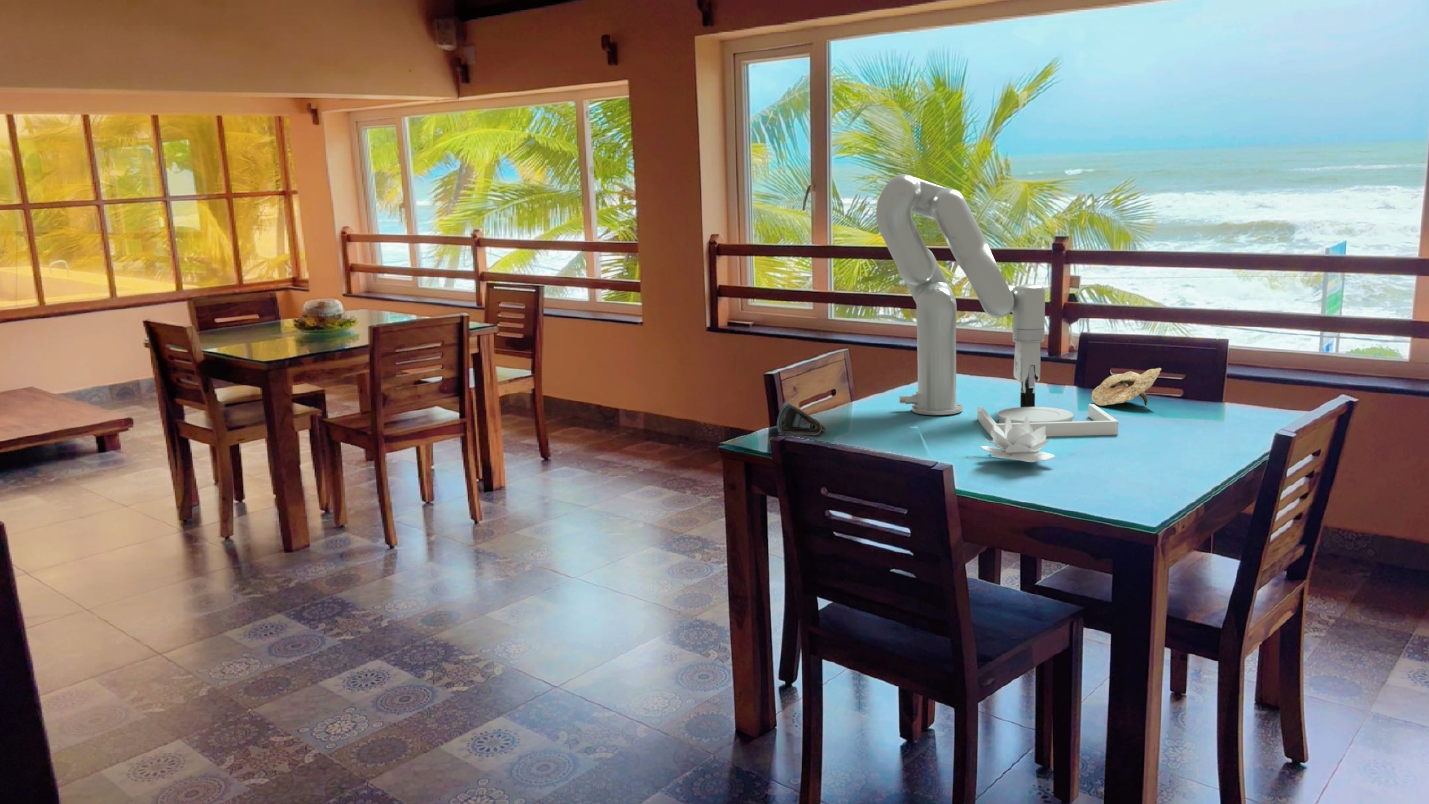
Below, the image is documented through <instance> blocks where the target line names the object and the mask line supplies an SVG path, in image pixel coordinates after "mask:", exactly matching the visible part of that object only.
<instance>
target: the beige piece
mask: <svg viewBox="0 0 1429 804" xmlns="http://www.w3.org/2000/svg"><path fill="white" fill-rule="evenodd" d="M1161 371H1162V368H1161V367H1157V368H1150V369H1147V370H1146V371H1144V372H1143V373H1141V374H1140V373H1138V372H1134V371H1126V372H1125V373H1117V374H1113V375H1109V376H1108V377H1107V378H1105V379H1104V380H1103V381H1102V382H1101V383H1100V384H1099V385H1098V386H1096V387H1095V388H1094V389H1093V390H1092V391H1091V400H1092V402H1094V404H1095V405H1098V406H1107V405H1108V406H1109V405H1115V404H1121V403H1122V404H1123V403H1126V402H1130V401H1132V400H1134V398H1136V397H1138V396H1139V397H1141V399H1142V400H1143V403H1144V406H1147V405H1148V402H1149V401H1148V400H1149V399H1148V397H1147V394H1146V391H1147V390H1148V389H1150V388H1151V387H1152V386H1153V385H1154V383H1155V381H1156V380H1157V378H1158V377H1159V375H1161V374H1160V372H1161Z"/></svg>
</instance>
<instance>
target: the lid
mask: <svg viewBox="0 0 1429 804" xmlns="http://www.w3.org/2000/svg"><path fill="white" fill-rule="evenodd" d="M1007 416H1008V417H1009V418H1010V420H1011V423H1023V422H1024V420H1025V418H1026V417H1027V416H1028V418H1029V422H1030V423H1037V422H1073V420H1074V418H1075V415H1074V413H1073V412H1072V411H1069V410H1068V409H1063V408H1057V407H1048V406H1035V407H1018V406H1017V407H1011V408H1005V409H1002V410H1000V411H998V412H997V413H996V417H997V419H998V424H1001V423H1005V421H1006V417H1007Z"/></svg>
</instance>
